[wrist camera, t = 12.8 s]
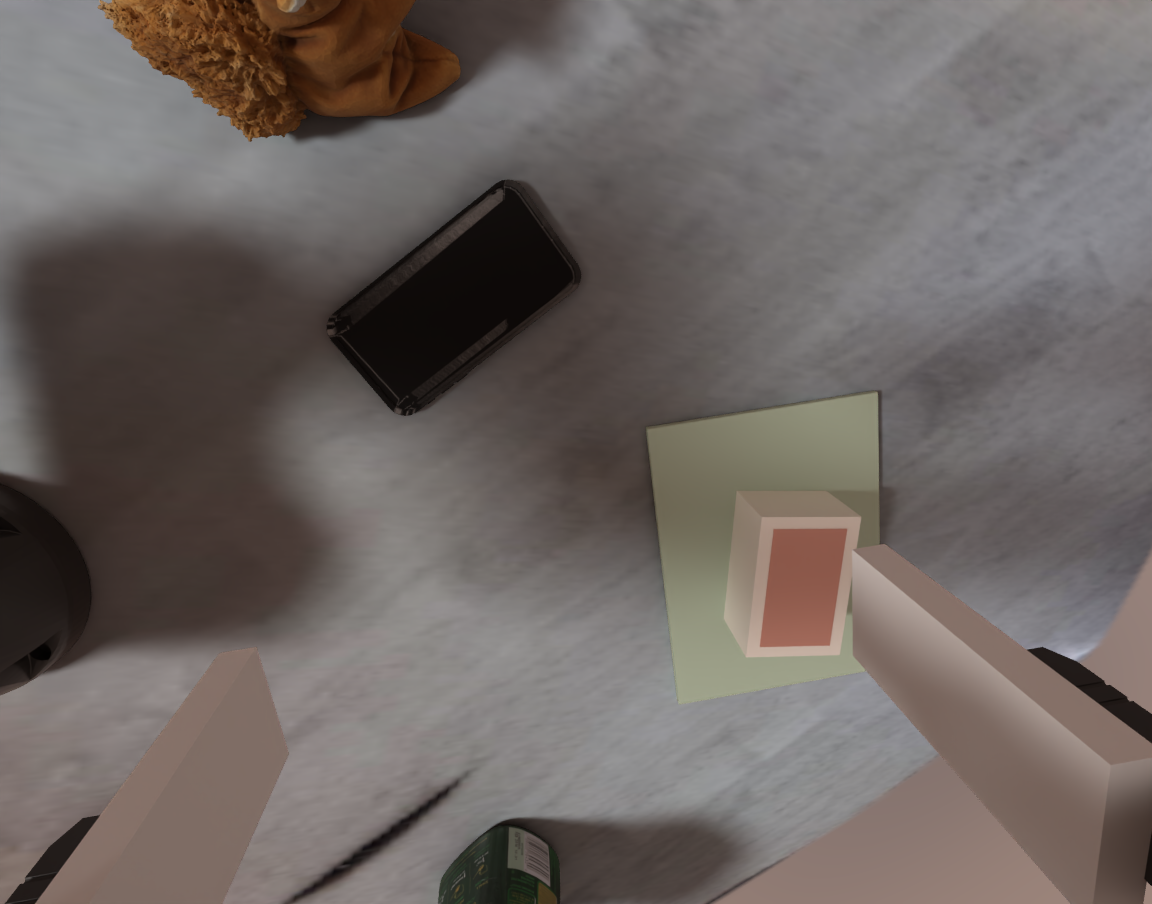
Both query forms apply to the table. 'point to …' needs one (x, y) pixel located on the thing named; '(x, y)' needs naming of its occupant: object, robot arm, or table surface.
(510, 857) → the coffee jar
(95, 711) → the table surface
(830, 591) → the card box
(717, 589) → the mat
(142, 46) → the stuffed squirrel
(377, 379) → the phone
